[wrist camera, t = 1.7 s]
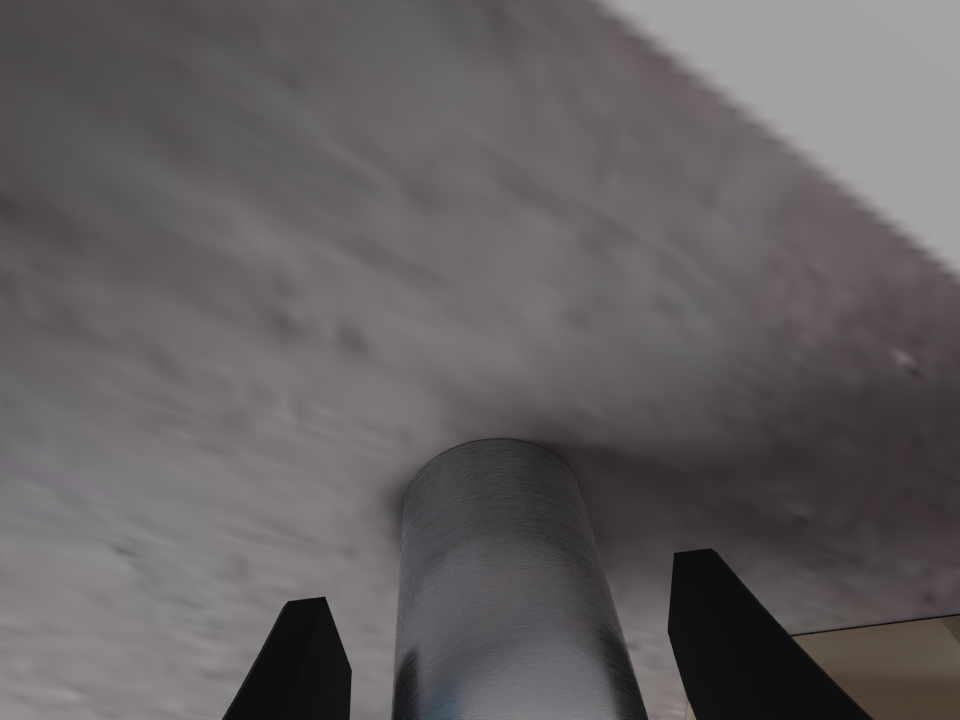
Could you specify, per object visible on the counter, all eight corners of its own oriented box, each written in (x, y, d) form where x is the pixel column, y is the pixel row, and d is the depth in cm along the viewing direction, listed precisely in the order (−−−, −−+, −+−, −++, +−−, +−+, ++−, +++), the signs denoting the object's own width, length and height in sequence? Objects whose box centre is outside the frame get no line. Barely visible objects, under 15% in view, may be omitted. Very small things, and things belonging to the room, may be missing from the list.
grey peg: (559, 574, 14) (689, 1169, 7) (395, 565, 13) (355, 1197, 6) (601, 447, 12) (835, 1078, 5) (412, 430, 11) (382, 1110, 4)
